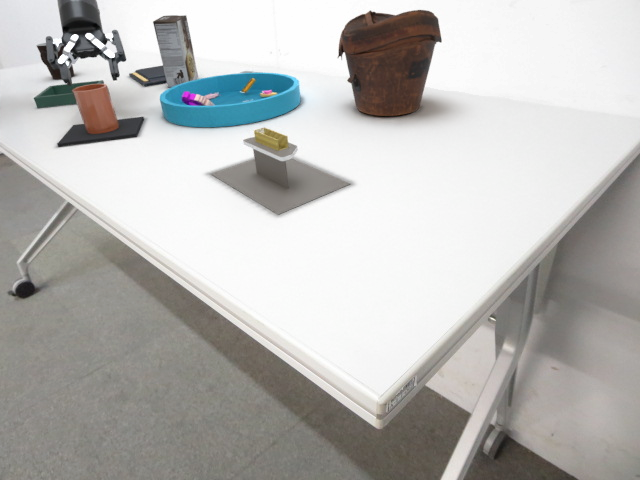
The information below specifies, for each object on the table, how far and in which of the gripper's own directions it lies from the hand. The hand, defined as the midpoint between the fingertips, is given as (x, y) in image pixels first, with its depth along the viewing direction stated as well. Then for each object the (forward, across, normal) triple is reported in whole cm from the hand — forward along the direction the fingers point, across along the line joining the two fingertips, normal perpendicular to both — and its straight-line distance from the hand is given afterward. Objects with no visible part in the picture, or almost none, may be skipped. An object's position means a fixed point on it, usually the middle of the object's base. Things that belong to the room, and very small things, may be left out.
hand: (92, 80), depth 89 cm
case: (+20, +55, -8) cm, 59 cm away
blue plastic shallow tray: (+7, +27, +5) cm, 28 cm away
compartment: (-15, -10, +27) cm, 32 cm away
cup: (+10, 0, +1) cm, 11 cm away
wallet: (-24, +12, +37) cm, 46 cm away
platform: (+38, +27, -26) cm, 53 cm away
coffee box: (-15, +18, +27) cm, 36 cm away
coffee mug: (-38, -19, +51) cm, 67 cm away
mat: (+11, 0, +1) cm, 11 cm away
